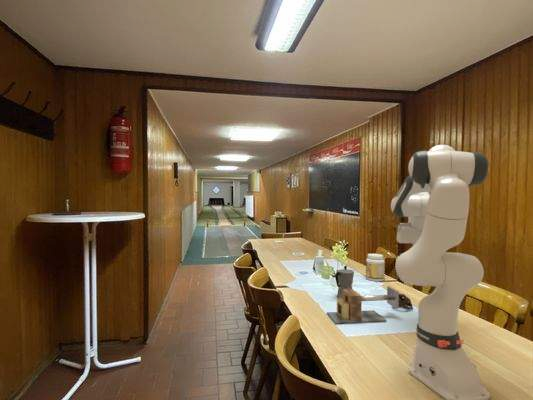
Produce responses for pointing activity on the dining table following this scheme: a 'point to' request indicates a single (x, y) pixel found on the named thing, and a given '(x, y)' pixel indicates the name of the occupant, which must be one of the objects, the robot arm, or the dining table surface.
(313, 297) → the dining table surface
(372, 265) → the supplement tub
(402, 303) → the dark openwork dome
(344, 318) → the tan flat block
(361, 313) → the bearing block
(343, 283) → the coffeepot
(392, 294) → the shaft
